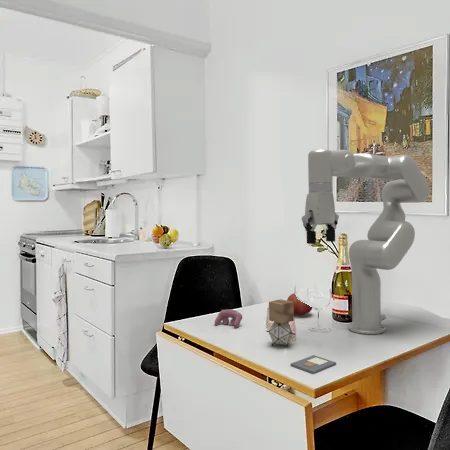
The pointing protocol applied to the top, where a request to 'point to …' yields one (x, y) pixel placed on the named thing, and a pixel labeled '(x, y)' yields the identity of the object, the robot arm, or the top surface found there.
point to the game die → (280, 333)
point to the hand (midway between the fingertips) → (321, 242)
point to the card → (313, 364)
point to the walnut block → (281, 311)
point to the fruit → (299, 305)
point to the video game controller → (229, 314)
